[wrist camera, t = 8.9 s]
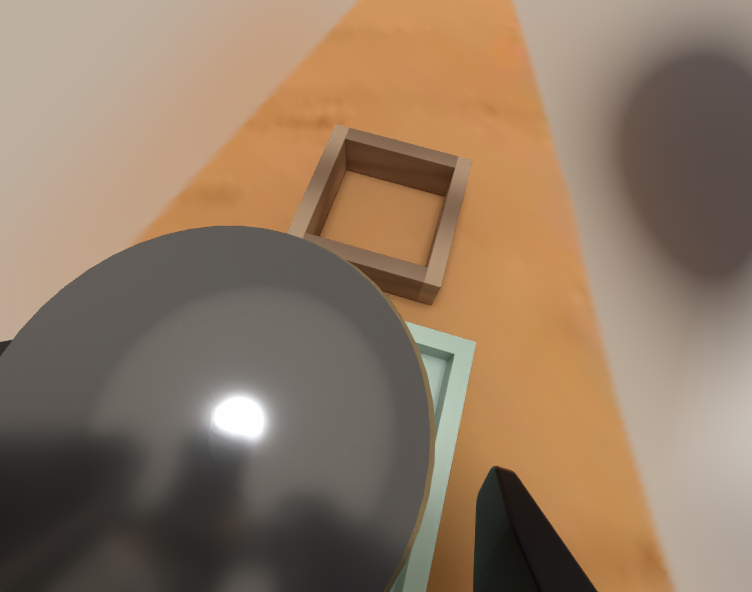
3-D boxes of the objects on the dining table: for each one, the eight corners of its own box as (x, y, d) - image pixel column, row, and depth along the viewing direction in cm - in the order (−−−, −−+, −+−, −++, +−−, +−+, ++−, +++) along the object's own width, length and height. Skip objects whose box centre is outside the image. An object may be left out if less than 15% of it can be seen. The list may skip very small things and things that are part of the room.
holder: (430, 305, 20) (440, 287, 17) (291, 264, 20) (283, 242, 18) (460, 189, 22) (472, 160, 20) (338, 156, 23) (335, 124, 21)
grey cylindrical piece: (358, 519, 15) (357, 846, 3) (238, 478, 15) (-198, 629, 3) (392, 393, 17) (479, 281, 5) (285, 359, 17) (114, 177, 5)
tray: (406, 614, 15) (414, 646, 13) (152, 526, 16) (116, 541, 13) (461, 354, 19) (476, 342, 16) (257, 293, 20) (243, 273, 17)
